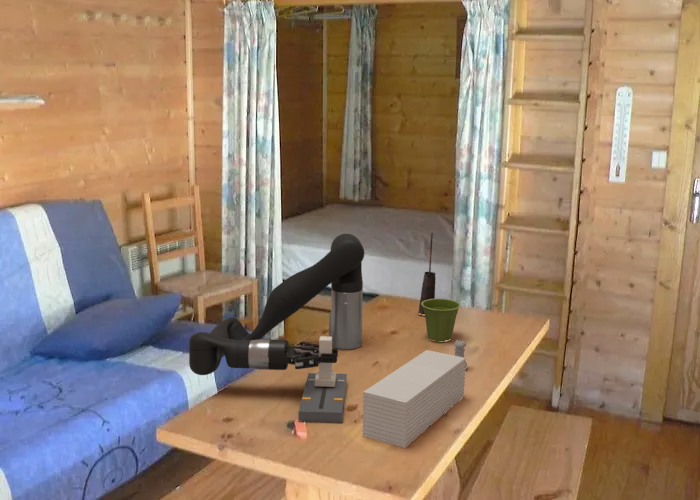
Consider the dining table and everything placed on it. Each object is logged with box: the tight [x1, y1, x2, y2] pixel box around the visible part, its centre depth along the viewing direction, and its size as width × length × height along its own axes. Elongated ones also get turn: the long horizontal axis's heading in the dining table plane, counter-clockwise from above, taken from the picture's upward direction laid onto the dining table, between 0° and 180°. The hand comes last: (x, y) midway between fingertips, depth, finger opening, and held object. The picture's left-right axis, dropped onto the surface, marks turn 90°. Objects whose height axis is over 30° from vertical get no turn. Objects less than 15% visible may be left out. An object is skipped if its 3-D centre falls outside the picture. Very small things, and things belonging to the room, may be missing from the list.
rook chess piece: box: [453, 339, 468, 368], centre depth 211 cm, size 4×4×8 cm
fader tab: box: [315, 335, 337, 387], centre depth 193 cm, size 6×5×12 cm
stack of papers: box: [361, 349, 467, 449], centre depth 181 cm, size 32×11×11 cm, turn 149°
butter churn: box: [418, 232, 436, 314], centre depth 256 cm, size 9×10×28 cm
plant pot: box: [421, 298, 462, 342], centre depth 235 cm, size 12×12×11 cm
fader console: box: [298, 372, 348, 424], centre depth 189 cm, size 24×10×3 cm, turn 178°
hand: (337, 355), depth 192 cm, fingers closed on fader tab, 3 cm apart
